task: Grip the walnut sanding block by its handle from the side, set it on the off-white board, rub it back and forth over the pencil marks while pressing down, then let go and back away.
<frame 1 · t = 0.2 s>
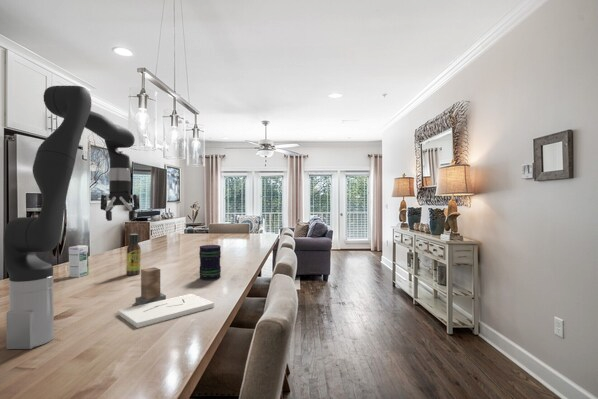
hand: (120, 220, 135), 29 cm above the table, tool pointing down, fingers open, 8 cm apart
storage jar: (210, 278, 160), on the table
sauce bottle: (133, 274, 168), on the table
sanding block: (150, 301, 124), on the table
board: (167, 310, 114), on the table
syrup box: (78, 276, 164), on the table
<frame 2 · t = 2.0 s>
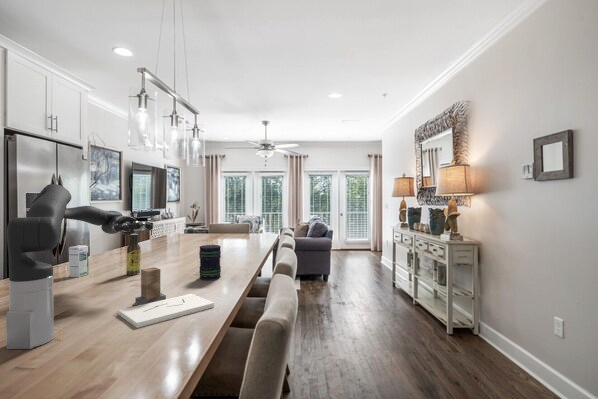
hand: (140, 228, 132), 26 cm above the table, tool horizontal, fingers open, 8 cm apart
nothing on the table moved.
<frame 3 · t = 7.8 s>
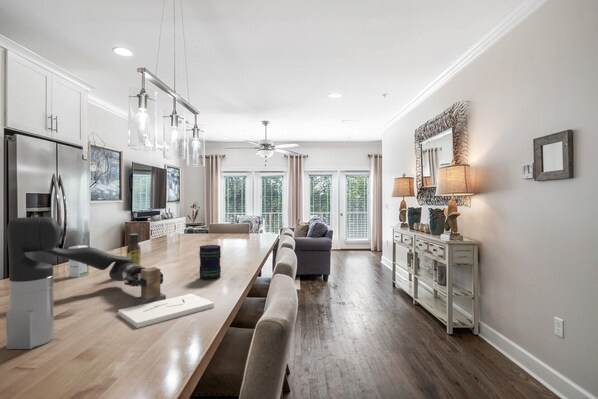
hand: (153, 282, 122), 8 cm above the table, tool horizontal, fingers closed on sanding block, 5 cm apart
sanding block: (150, 301, 124), on the table, touching gripper
everything else where it was.
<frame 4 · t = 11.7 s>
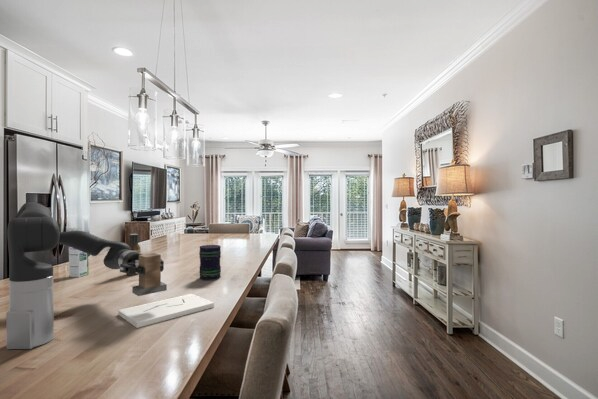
hand: (153, 269, 108), 15 cm above the table, tool horizontal, fingers closed on sanding block, 5 cm apart
sanding block: (149, 291, 110), point 8 cm above the table, touching gripper
everything else where it was.
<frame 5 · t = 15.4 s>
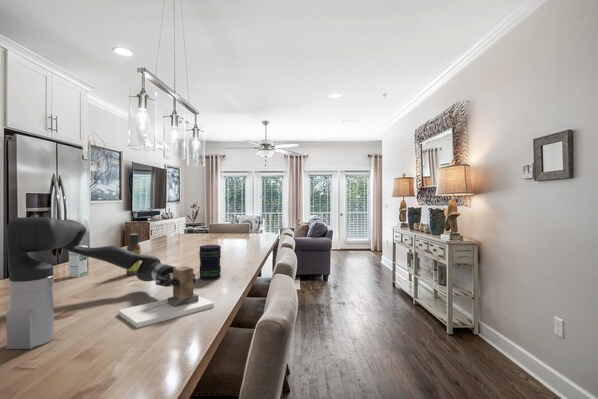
hand: (186, 282, 116), 9 cm above the table, tool horizontal, fingers closed on sanding block, 5 cm apart
sanding block: (183, 302, 118), point 2 cm above the table, touching board, gripper
everything else where it was.
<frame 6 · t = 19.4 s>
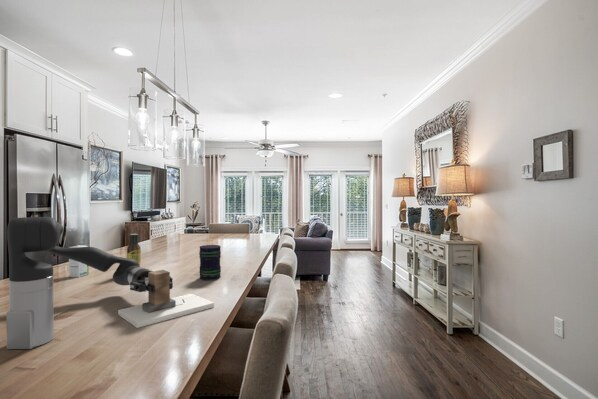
hand: (162, 287, 111), 9 cm above the table, tool horizontal, fingers closed on sanding block, 5 cm apart
sanding block: (159, 308, 112), point 2 cm above the table, touching gripper
everything else where it was.
when the fingers open (9 cm above the table, at t = 23.2 s): sanding block stays where it is, resting on board.
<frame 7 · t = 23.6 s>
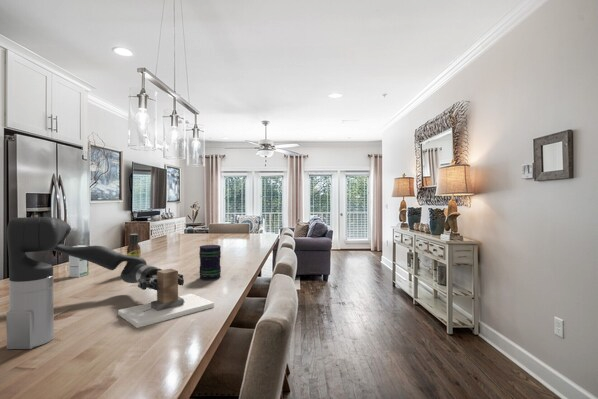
hand: (170, 284, 113), 9 cm above the table, tool horizontal, fingers open, 8 cm apart
sanding block: (167, 306, 114), point 2 cm above the table, touching board
everything else where it was.
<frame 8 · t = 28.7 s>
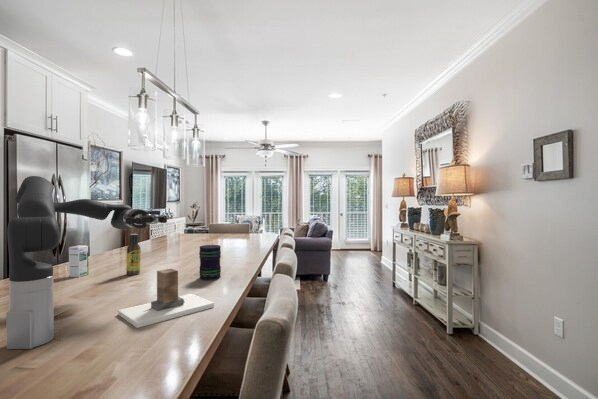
hand: (153, 220, 122), 30 cm above the table, tool horizontal, fingers open, 8 cm apart
nothing on the table moved.
at the end: sanding block inside the target area on the board (0.1 cm from its centre), point 1.5 cm above the board's base; sanding block tilted 0°; the gripper is holding nothing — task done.
